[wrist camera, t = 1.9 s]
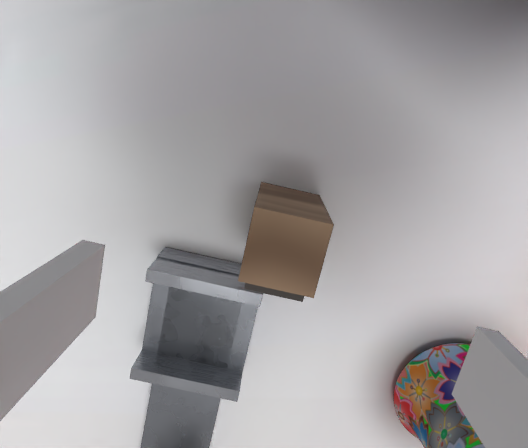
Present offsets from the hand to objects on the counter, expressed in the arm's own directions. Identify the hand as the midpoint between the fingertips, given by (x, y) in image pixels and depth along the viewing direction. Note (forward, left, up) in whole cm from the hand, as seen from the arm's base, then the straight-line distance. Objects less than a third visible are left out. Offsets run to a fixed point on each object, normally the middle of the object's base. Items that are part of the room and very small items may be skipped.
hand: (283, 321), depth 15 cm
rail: (+17, -4, -15) cm, 23 cm away
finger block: (0, 0, -15) cm, 15 cm away
